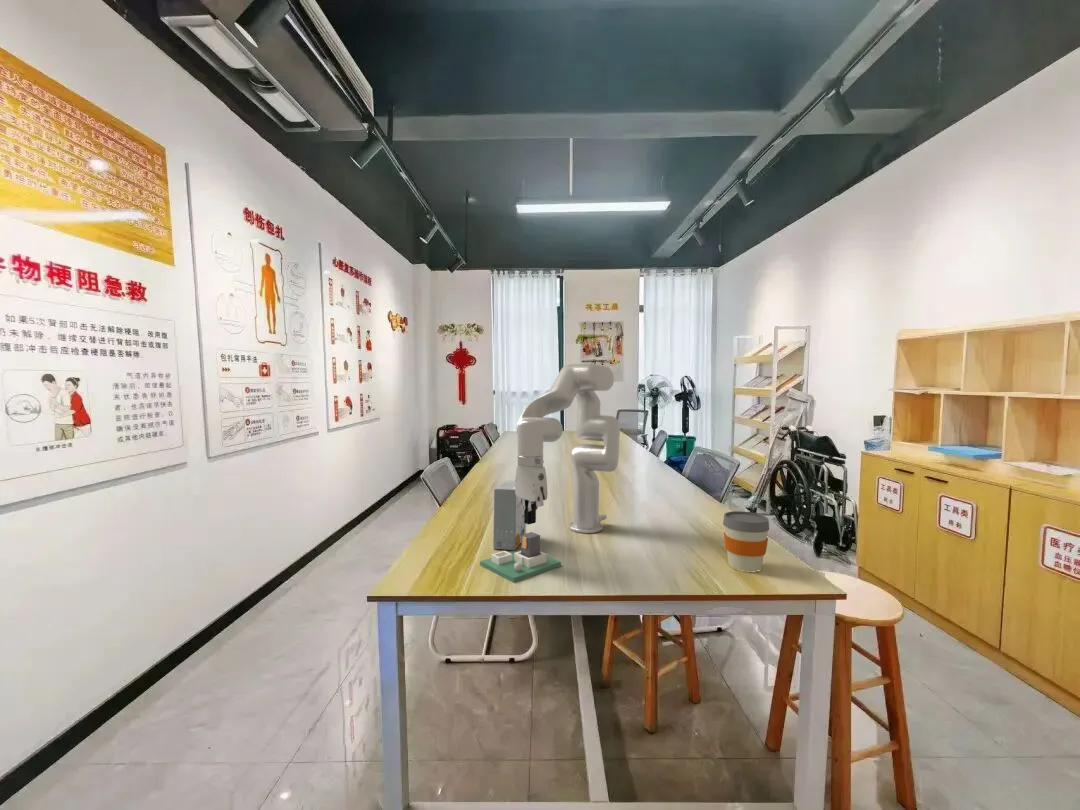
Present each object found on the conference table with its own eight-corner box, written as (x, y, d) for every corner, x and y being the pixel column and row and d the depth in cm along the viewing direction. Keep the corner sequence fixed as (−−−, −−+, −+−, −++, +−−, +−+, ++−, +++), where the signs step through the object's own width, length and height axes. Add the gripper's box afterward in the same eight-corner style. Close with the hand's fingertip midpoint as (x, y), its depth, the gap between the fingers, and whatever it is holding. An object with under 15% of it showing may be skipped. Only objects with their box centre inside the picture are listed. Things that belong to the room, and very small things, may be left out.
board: (526, 551, 152) (526, 541, 152) (561, 565, 140) (561, 555, 140) (480, 565, 140) (480, 554, 140) (513, 582, 128) (513, 570, 128)
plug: (531, 557, 143) (531, 531, 142) (540, 561, 140) (540, 535, 139) (519, 561, 140) (519, 535, 139) (528, 565, 137) (528, 538, 136)
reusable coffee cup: (724, 572, 135) (725, 521, 135) (720, 556, 147) (721, 509, 147) (772, 577, 132) (773, 524, 131) (763, 561, 144) (765, 512, 143)
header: (531, 555, 144) (531, 547, 144) (546, 562, 139) (546, 553, 139) (512, 561, 140) (512, 553, 139) (527, 568, 134) (527, 560, 134)
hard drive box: (515, 551, 152) (515, 490, 151) (492, 549, 153) (492, 488, 152) (526, 536, 167) (526, 480, 166) (505, 534, 168) (505, 479, 167)
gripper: (557, 463, 135) (556, 526, 136) (524, 457, 146) (523, 515, 147) (537, 466, 130) (536, 531, 131) (504, 459, 141) (504, 519, 142)
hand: (530, 522), depth 139 cm, fingers closed
